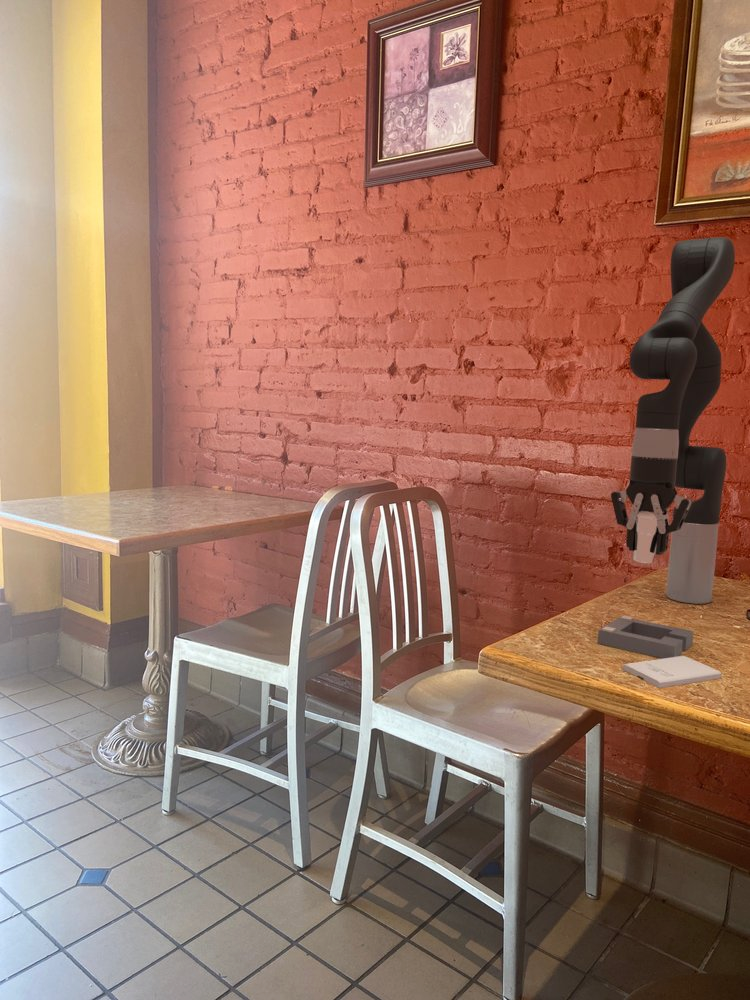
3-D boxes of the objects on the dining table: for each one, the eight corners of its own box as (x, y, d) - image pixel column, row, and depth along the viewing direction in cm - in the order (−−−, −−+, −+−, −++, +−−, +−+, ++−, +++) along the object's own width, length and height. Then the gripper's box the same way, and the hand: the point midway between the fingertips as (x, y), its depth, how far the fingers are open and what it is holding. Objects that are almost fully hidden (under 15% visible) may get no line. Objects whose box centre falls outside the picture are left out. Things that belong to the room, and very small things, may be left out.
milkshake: (663, 566, 129) (672, 509, 127) (631, 562, 130) (639, 505, 129) (659, 560, 133) (667, 505, 132) (628, 556, 135) (636, 502, 133)
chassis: (619, 629, 140) (620, 614, 140) (692, 644, 132) (693, 629, 132) (597, 643, 132) (598, 628, 131) (673, 661, 124) (675, 644, 123)
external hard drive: (720, 682, 117) (659, 691, 112) (681, 664, 124) (621, 672, 119) (722, 672, 116) (660, 681, 112) (682, 654, 124) (622, 662, 119)
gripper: (703, 457, 128) (694, 556, 130) (622, 451, 137) (614, 544, 139) (690, 458, 122) (681, 561, 124) (606, 452, 131) (598, 548, 133)
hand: (645, 551), depth 132 cm, fingers closed on milkshake, 4 cm apart
